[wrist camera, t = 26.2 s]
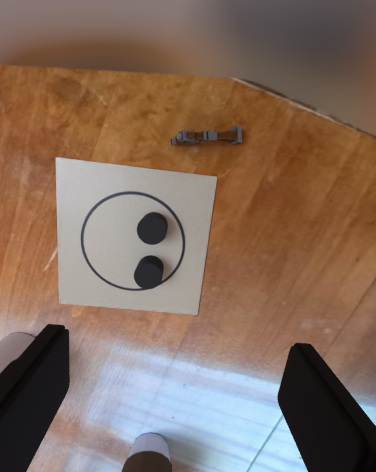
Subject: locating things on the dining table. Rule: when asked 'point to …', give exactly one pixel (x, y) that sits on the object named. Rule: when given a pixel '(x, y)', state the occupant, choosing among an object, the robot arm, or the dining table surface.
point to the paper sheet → (130, 234)
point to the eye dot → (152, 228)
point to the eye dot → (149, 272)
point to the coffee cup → (148, 455)
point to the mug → (13, 347)
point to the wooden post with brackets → (208, 136)
